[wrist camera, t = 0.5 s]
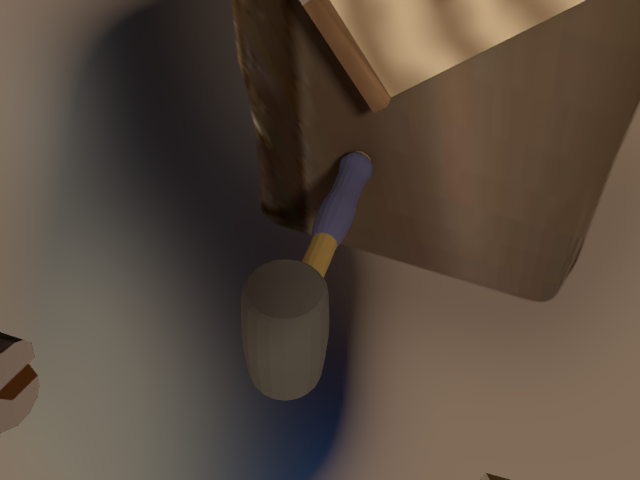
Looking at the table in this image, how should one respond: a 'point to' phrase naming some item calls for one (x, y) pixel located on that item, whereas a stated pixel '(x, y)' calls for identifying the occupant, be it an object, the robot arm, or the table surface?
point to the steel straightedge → (303, 1)
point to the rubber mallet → (299, 296)
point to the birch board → (418, 36)
